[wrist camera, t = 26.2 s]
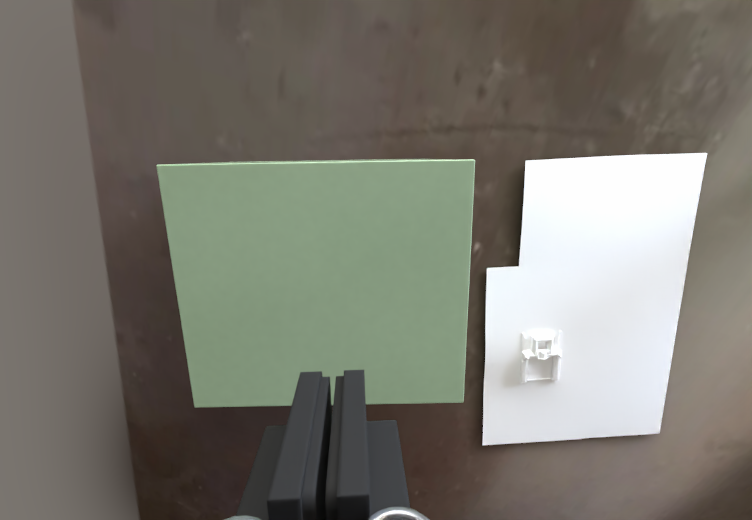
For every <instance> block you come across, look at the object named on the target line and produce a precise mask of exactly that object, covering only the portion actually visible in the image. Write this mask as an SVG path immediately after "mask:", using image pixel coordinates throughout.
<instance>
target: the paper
mask: <svg viewBox="0 0 752 520" xmlns="http://www.w3.org/2000/svg"><path fill="white" fill-rule="evenodd" d="M706 157H707V153H689V154H655V155H623V156H602V157H585V158H566V159H547V160H529V161H526V162H525V182H524V200H523V217H522V231H521V244H520V256H519V266H515V267H496V268H487V280H486V319H485V341H486V347H485V372H484V393H483V443H482V445H496V444H512V443H528V442H544V441H559V440H575V439H582V438H595V437H611V436H627V435H643V434H659V433H660V427H661V421H662V415H663V408H664V402H665V396H666V390H667V384H668V378H669V372H670V366H671V360H672V354H673V348H674V342H675V335H676V329H677V323H678V317H679V311H680V305H681V300H682V294H683V288H684V282H685V276H686V270H687V264H688V258H689V252H690V246H691V240H692V234H693V228H694V223H695V217H696V211H697V206H698V200H699V195H700V189H701V184H702V179H703V173H704V168H705V162H706Z"/></svg>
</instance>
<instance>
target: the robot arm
mask: <svg viewBox="0 0 752 520" xmlns="http://www.w3.org/2000/svg"><path fill="white" fill-rule="evenodd" d="M225 520H429V519H428V518H427V517H426V516H425V515H423V514H421V513H420V512H418V511H416V510H414V509H410V504H409V498H408V491H407V485H406V478H405V472H404V466H403V459H402V453H401V446H400V440H399V434H398V427H397V422H396V420H385V421H366V400H365V375H364V370H344V376H336V381H335V392H334V402H333V413H332V405H331V386H330V377H323V376H322V371H315V372H300V375H299V379H298V383H297V387H296V391H295V395H294V398H293V402H292V406H291V410H290V414H289V418H288V421H287V425H279V426H267V427H266V429H265V431H264V434H263V437H262V440H261V443H260V445H259V448H258V451H257V454H256V457H255V460H254V463H253V466H252V469H251V472H250V475H249V478H248V481H247V484H246V487H245V490H244V493H243V496H242V499H241V502H240V505H239V508H238V511H237V514H236V516H234V517H231V518H228V519H225Z"/></svg>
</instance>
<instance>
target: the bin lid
mask: <svg viewBox="0 0 752 520" xmlns="http://www.w3.org/2000/svg"><path fill="white" fill-rule="evenodd" d="M157 172H158V178H159V185H160V191H161V197H162V204H163V210H164V216H165V223H166V229H167V236H168V242H169V248H170V255H171V261H172V267H173V274H174V280H175V287H176V293H177V299H178V306H179V312H180V318H181V325H182V331H183V338H184V344H185V350H186V357H187V363H188V369H189V376H190V382H191V388H192V395H193V401H194V407H246V406H292V402H293V398H294V395H295V391H296V387H297V383H298V379H299V375H300V372H315V371H322V376H323V377H330V386H331V405H333V402H334V392H335V381H336V376H344V370H364V375H365V400H366V404H410V403H463V401H464V381H465V360H466V339H467V318H468V298H469V277H470V256H471V235H472V214H473V193H474V173H475V160H471V159H469V160H409V161H349V162H289V163H229V164H169V165H157Z"/></svg>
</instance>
